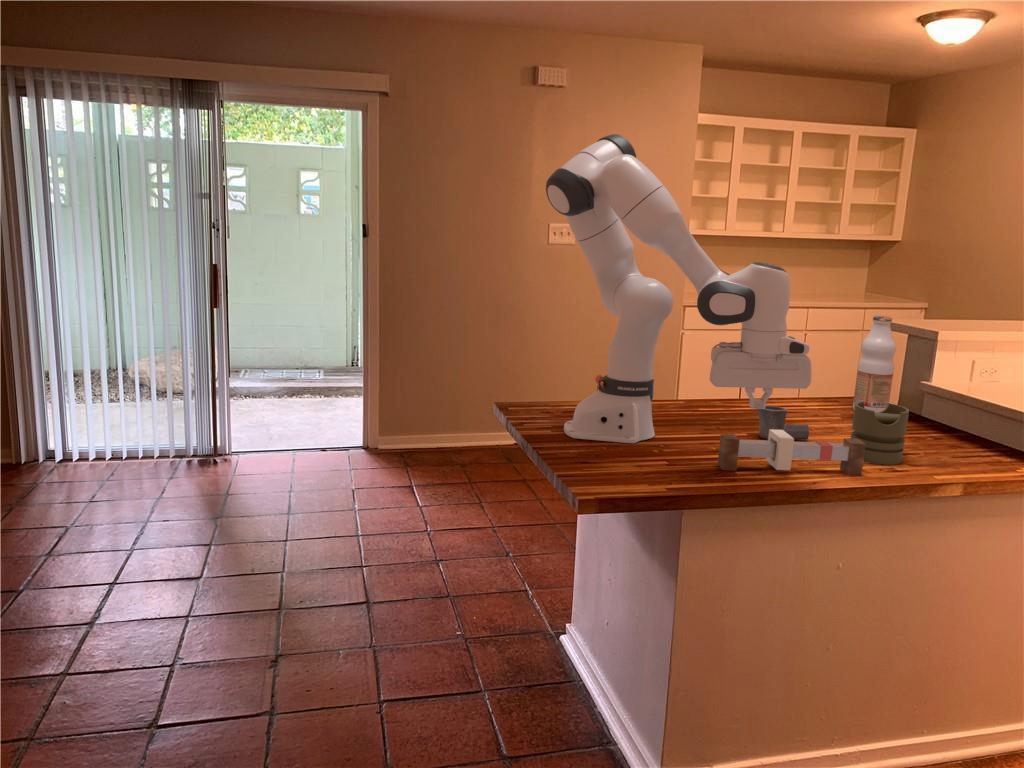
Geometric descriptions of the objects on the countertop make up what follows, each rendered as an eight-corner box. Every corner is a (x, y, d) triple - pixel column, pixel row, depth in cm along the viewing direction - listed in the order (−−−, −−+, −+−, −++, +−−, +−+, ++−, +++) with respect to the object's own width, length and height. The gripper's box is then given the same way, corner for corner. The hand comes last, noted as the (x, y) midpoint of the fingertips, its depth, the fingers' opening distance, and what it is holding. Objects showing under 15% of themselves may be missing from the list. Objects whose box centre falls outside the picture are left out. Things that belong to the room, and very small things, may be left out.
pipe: (809, 445, 189) (812, 413, 187) (754, 440, 191) (757, 408, 190) (804, 438, 195) (808, 407, 193) (752, 433, 197) (755, 403, 195)
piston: (849, 399, 184) (900, 403, 182) (843, 448, 187) (893, 451, 185) (862, 411, 173) (916, 415, 171) (855, 462, 176) (908, 466, 174)
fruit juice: (846, 411, 226) (859, 315, 220) (859, 406, 232) (872, 313, 226) (879, 417, 219) (893, 319, 213) (892, 413, 226) (906, 317, 220)
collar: (776, 469, 165) (779, 438, 163) (765, 459, 172) (769, 429, 170) (790, 470, 165) (794, 438, 163) (779, 460, 172) (782, 429, 170)
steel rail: (728, 457, 166) (729, 442, 166) (723, 452, 169) (725, 438, 169) (857, 461, 166) (859, 447, 166) (851, 457, 170) (853, 442, 169)
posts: (722, 470, 166) (725, 438, 165) (717, 464, 170) (720, 433, 169) (861, 475, 167) (865, 444, 165) (853, 469, 171) (857, 438, 169)
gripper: (715, 344, 156) (710, 410, 159) (817, 346, 156) (810, 412, 159) (708, 339, 162) (703, 403, 165) (806, 341, 162) (800, 405, 165)
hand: (757, 408), depth 162 cm, fingers closed
